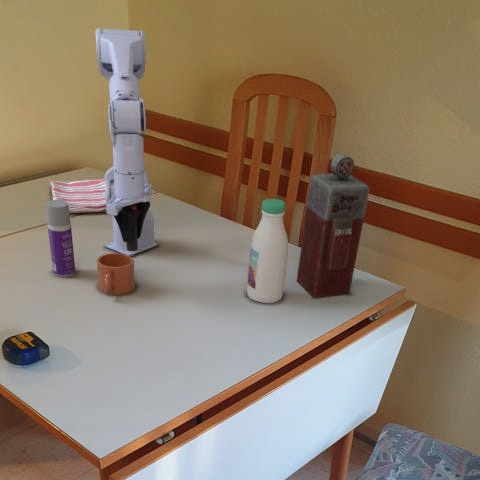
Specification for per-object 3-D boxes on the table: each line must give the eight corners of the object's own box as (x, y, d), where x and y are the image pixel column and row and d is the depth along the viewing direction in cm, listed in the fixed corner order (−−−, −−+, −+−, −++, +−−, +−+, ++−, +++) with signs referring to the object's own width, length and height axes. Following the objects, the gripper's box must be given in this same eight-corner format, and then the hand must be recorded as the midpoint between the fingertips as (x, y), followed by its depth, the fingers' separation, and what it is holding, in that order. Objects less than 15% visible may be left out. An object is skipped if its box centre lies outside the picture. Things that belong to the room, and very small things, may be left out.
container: (70, 278, 134) (62, 208, 125) (49, 275, 135) (40, 205, 125) (79, 270, 138) (72, 201, 128) (59, 266, 138) (51, 198, 129)
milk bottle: (286, 292, 136) (298, 199, 124) (276, 307, 130) (287, 211, 118) (253, 284, 138) (261, 192, 126) (241, 299, 132) (249, 204, 120)
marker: (132, 246, 130) (130, 202, 124) (140, 249, 129) (138, 205, 123) (124, 249, 128) (122, 205, 123) (132, 252, 127) (130, 208, 122)
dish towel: (54, 215, 162) (53, 202, 160) (50, 186, 180) (48, 174, 177) (121, 213, 167) (120, 200, 165) (110, 185, 184) (109, 173, 182)
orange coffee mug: (104, 277, 136) (102, 251, 132) (138, 281, 135) (137, 255, 132) (90, 299, 127) (87, 271, 124) (126, 303, 127) (124, 275, 123)
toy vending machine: (318, 303, 133) (340, 166, 116) (296, 280, 141) (313, 149, 124) (355, 299, 136) (381, 164, 119) (331, 277, 144) (353, 148, 127)
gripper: (128, 184, 112) (131, 256, 121) (165, 164, 123) (165, 232, 132) (94, 177, 114) (99, 248, 122) (133, 158, 125) (135, 225, 133)
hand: (131, 239), depth 127 cm, fingers closed on marker, 2 cm apart
